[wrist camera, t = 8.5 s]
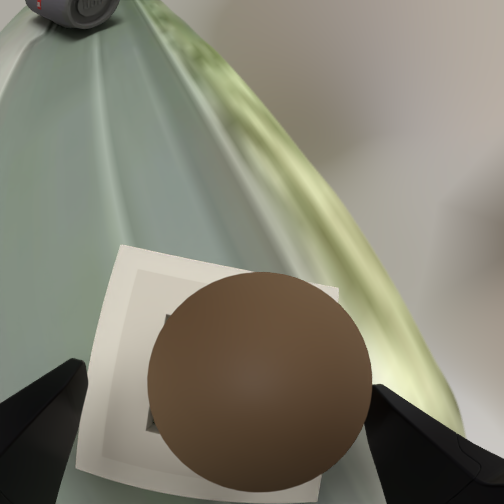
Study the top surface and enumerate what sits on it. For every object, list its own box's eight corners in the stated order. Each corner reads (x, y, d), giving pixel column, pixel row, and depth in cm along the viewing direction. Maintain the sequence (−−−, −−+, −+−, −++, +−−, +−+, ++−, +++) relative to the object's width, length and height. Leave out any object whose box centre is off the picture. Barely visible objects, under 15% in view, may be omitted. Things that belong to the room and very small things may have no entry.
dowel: (224, 430, 15) (308, 519, 4) (163, 394, 15) (102, 414, 4) (258, 374, 17) (398, 338, 6) (200, 338, 17) (230, 232, 6)
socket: (311, 497, 14) (331, 511, 11) (80, 464, 12) (63, 476, 10) (332, 292, 20) (353, 277, 18) (123, 251, 19) (114, 228, 16)
